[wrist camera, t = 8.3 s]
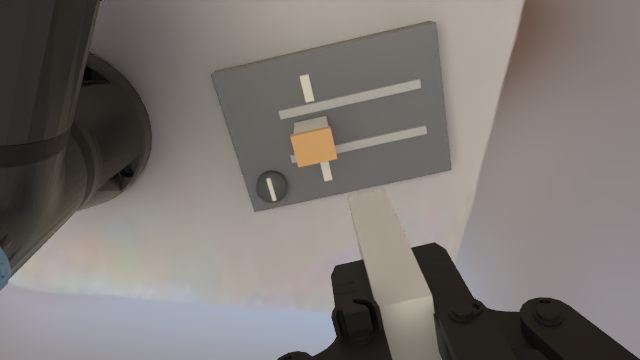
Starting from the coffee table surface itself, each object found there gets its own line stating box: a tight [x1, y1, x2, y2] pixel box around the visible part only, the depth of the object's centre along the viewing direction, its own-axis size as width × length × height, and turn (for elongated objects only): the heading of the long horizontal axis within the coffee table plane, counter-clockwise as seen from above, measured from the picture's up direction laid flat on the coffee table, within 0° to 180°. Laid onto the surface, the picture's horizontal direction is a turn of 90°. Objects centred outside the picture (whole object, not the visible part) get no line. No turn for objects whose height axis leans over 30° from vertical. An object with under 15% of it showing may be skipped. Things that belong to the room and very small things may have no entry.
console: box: [211, 21, 451, 212], centre depth 41 cm, size 20×14×3 cm
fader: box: [290, 116, 337, 168], centre depth 39 cm, size 3×3×5 cm
